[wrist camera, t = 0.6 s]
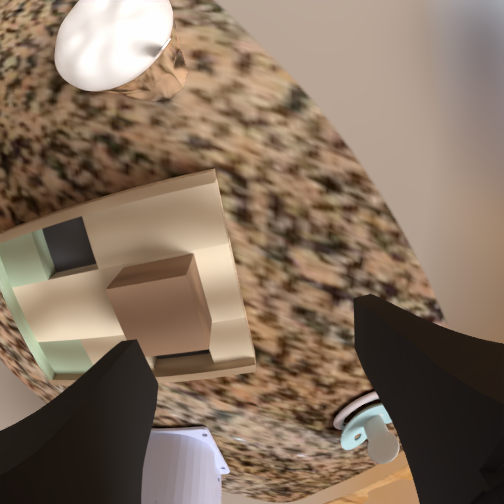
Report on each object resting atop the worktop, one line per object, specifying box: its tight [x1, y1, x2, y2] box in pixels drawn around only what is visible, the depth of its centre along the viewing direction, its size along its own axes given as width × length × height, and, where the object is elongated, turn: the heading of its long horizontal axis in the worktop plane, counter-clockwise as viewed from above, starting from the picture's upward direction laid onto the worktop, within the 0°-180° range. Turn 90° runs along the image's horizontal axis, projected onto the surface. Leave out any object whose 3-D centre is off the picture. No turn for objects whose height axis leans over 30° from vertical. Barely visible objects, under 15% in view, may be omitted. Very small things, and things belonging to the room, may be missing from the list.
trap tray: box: [0, 168, 257, 386], centre depth 18 cm, size 13×18×2 cm
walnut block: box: [106, 254, 212, 357], centre depth 16 cm, size 4×4×3 cm
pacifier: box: [333, 391, 399, 464], centre depth 22 cm, size 7×6×6 cm
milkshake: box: [55, 0, 188, 102], centre depth 10 cm, size 4×5×10 cm
